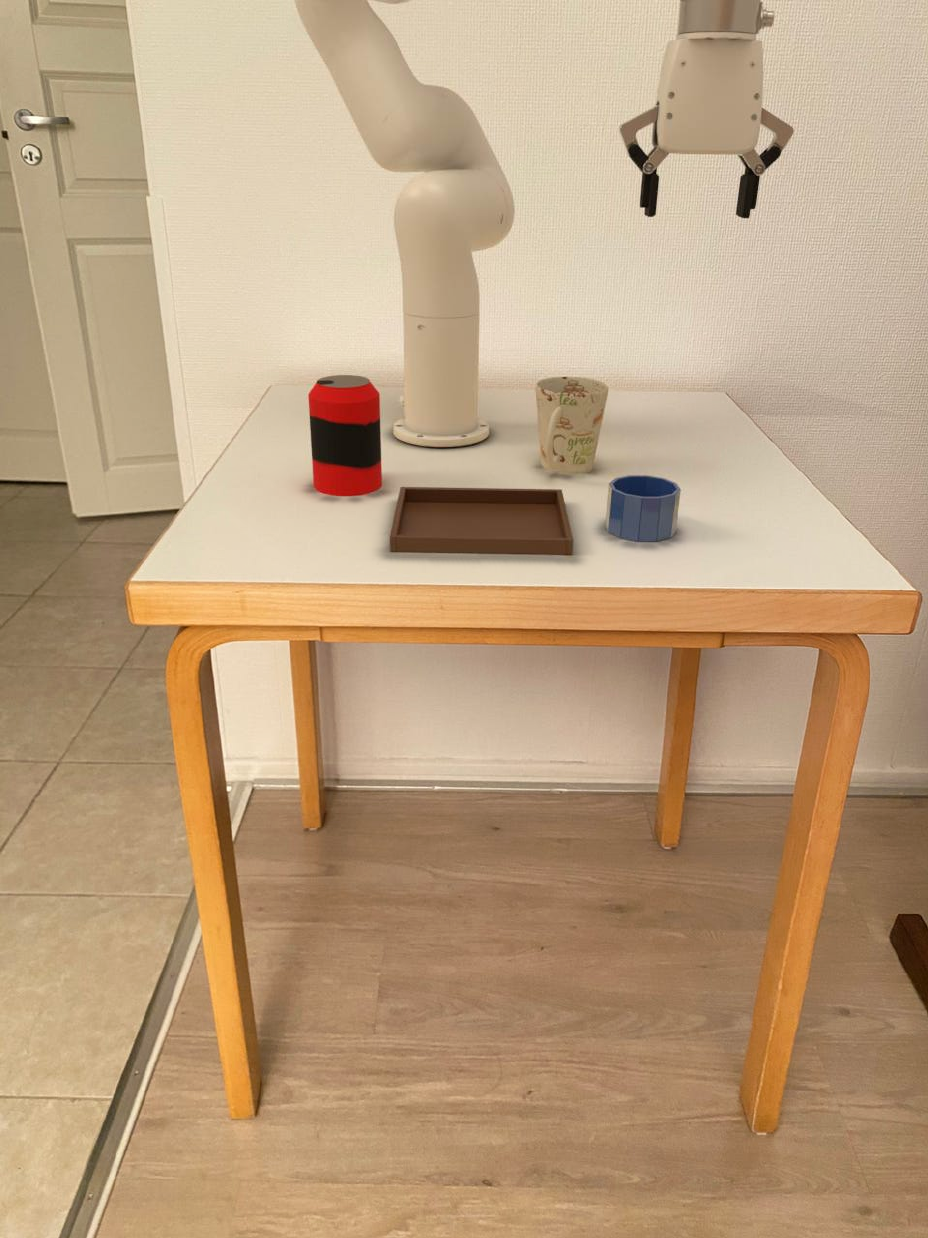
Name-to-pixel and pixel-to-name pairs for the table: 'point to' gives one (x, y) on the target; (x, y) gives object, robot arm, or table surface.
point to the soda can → (345, 435)
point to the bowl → (642, 508)
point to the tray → (481, 521)
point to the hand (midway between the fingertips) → (696, 216)
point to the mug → (569, 422)
